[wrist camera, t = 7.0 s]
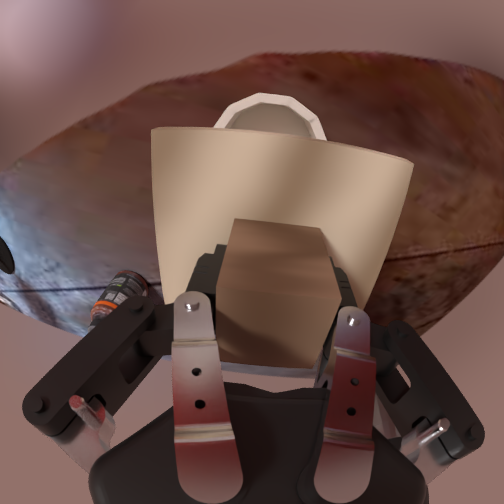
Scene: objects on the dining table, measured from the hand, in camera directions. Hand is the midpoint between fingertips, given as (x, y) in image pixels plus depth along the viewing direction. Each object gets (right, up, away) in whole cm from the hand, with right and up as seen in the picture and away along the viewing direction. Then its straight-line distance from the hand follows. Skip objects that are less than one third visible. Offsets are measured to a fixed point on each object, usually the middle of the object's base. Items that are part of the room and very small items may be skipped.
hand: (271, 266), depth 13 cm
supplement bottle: (-19, -4, +26) cm, 32 cm away
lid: (0, +1, +1) cm, 2 cm away
